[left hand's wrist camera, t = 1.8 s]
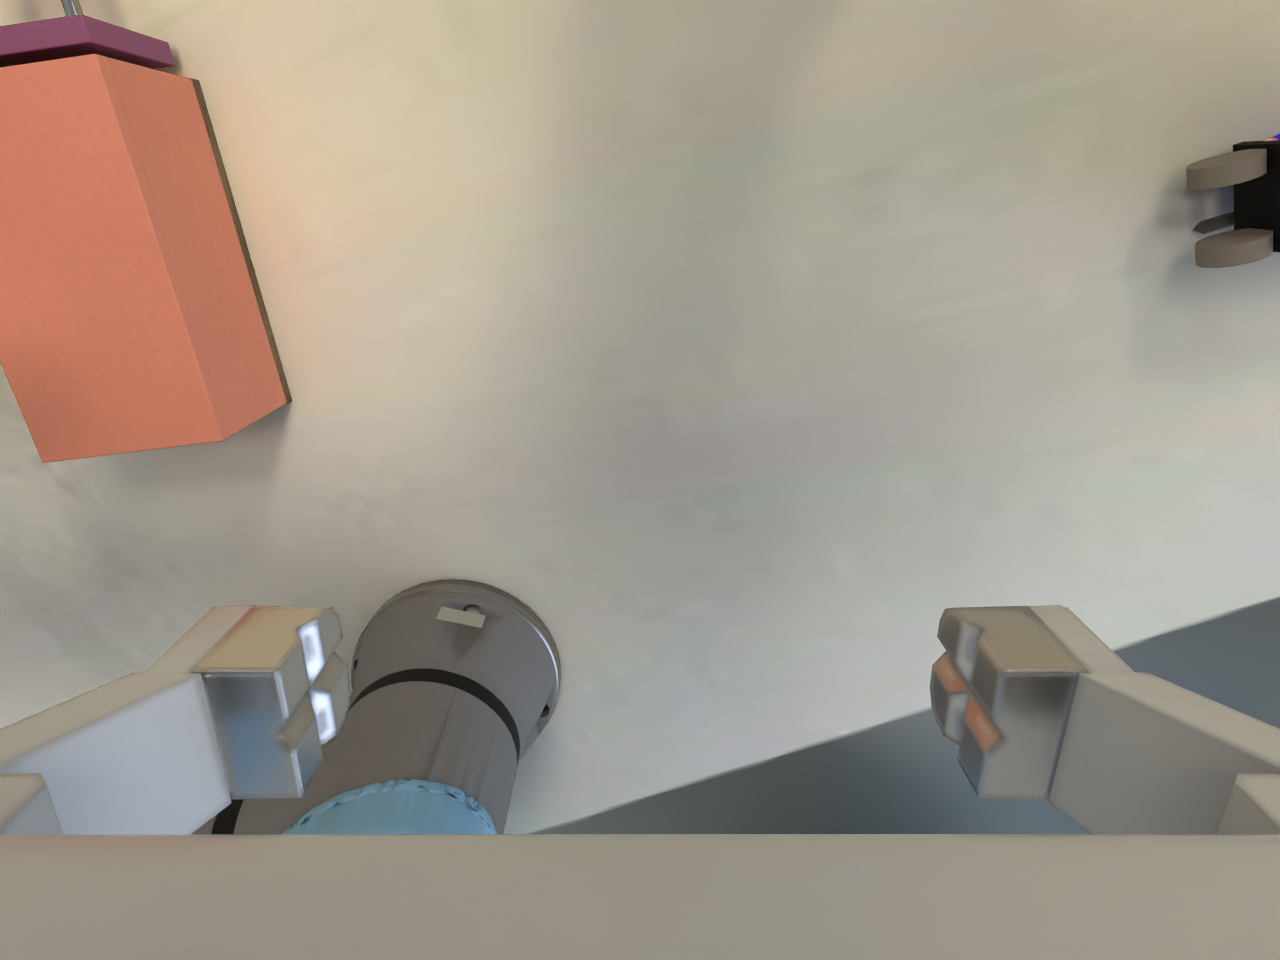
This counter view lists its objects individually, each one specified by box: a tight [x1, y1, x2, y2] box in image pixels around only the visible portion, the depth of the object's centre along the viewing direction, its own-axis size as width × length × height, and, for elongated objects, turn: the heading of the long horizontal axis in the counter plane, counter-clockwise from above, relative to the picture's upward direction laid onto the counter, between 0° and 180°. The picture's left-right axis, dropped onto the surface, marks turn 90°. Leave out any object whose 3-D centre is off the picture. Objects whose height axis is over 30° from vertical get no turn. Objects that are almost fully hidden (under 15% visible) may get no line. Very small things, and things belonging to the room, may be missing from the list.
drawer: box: [0, 0, 174, 69], centre depth 42 cm, size 23×9×7 cm, turn 7°
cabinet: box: [0, 54, 292, 463], centre depth 44 cm, size 19×11×9 cm, turn 7°
